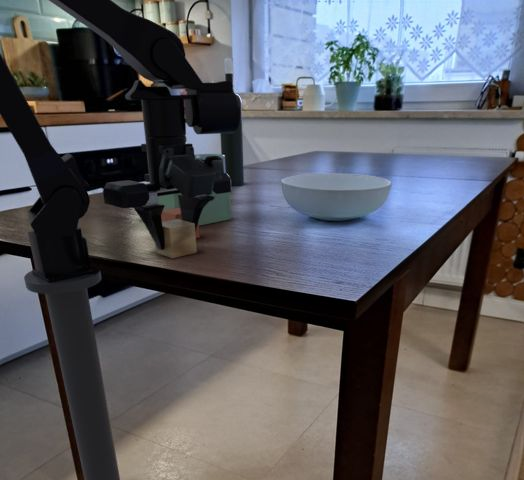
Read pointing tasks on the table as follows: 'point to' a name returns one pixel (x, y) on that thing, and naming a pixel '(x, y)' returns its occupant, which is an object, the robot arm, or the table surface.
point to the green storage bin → (210, 213)
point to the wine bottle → (233, 139)
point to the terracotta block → (175, 217)
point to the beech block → (178, 238)
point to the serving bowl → (335, 195)
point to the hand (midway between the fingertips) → (175, 246)
